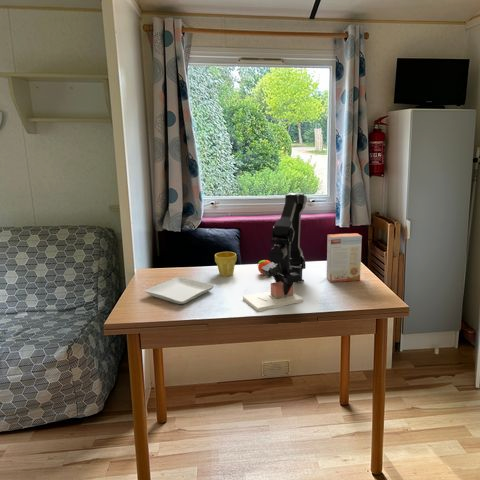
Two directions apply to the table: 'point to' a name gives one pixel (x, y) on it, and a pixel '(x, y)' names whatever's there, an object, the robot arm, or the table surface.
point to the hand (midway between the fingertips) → (282, 292)
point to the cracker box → (344, 257)
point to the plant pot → (225, 263)
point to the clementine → (261, 264)
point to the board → (270, 300)
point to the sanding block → (280, 290)
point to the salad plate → (179, 290)
